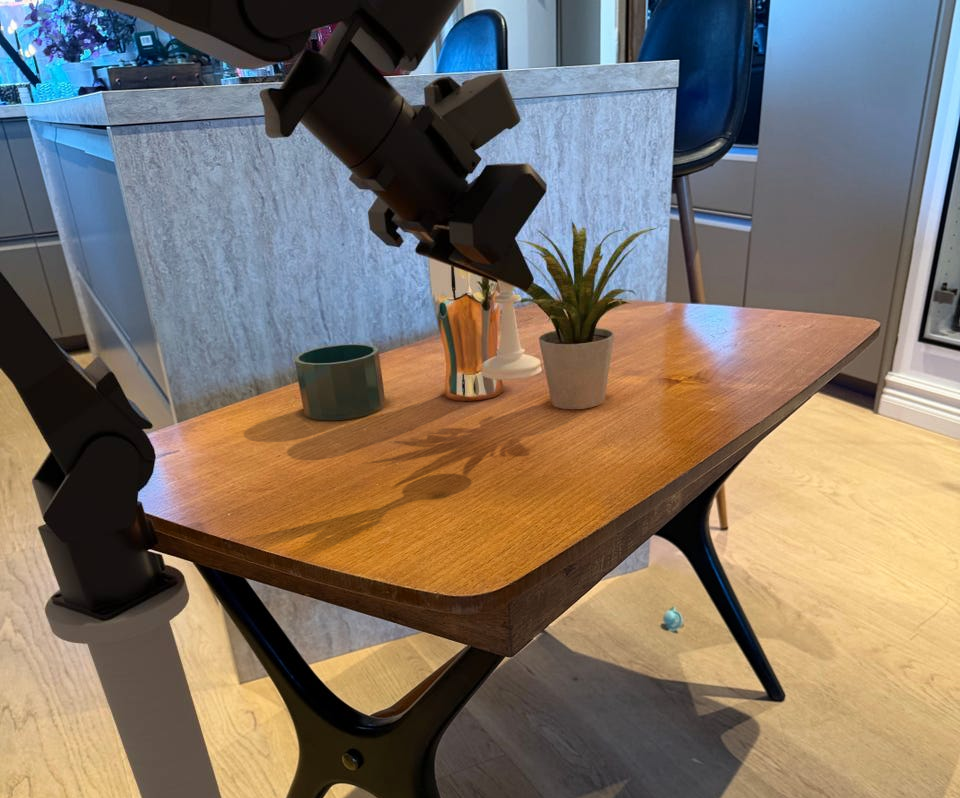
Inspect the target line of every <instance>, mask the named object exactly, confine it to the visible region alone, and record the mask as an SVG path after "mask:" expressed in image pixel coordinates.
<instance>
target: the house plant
mask: <svg viewBox="0 0 960 798" xmlns="http://www.w3.org/2000/svg"><path fill="white" fill-rule="evenodd" d="M534 229H535V230H537V232H538V233H540V235H542V236H543V237H544V238H545V239H546V240H547V241H548V242H549V244H551V246H552V247H553V249H554V250H555V252H556V253H557V255H558V257H559V260H561V263H562V265H563V266H562V265H561V263H560V262H559V260H558V259H557V257H556V256H555V255H554V254H553V253H552V252H551V251H550V250H549V249H547V248H545V247H544V246H541V245H538V244H536V243H535V242H534V243H533V242H530V241H527V240H519V239H517V242H518V241H519V242H521V243H524V244H527V245H530V246H531V247H533V248H535V249H536V250H538V251H539V252H538V251H534V250H530V252H532V253H536V254H539V256H541V258H542V259H543V261H545V266H546V270H547V272H548V273H549V275H550V277H551V279H552V280H553V281H554V283H555V285H556V288H557V289H558V291H559V294H560V296H559V295H558V293H557V292H556V290H555V288H554V286H553V285H552V283H551V282H550V280H549V279H548V278H547V277H546V275H545V274H544V273H543V272H542V270H540V269H539V267H537V266H536V265H535V264H534V263H533V262H532V261H530V260H529V259H528V258H527V257H526V256H524V258H525V260H526V261H528V262H529V263H530V264H531V265H532V266H533V267H534V268H535V269H536V270H537V271H538V273H540V274H541V275H542V276H543V277H544V279H545V280H546V282H547V283H548V284H549V286H550V287H551V289H552V290H553V292H554V294H555V295H556V297H557V300H556V299H555V298H554V297H553V296H552V295H551V294H550V293H549V292H548V291H547V290H546V289H545V288H543V287H542V286H541V285H539V284H536V283H535V282H533V283H532V284H531V286H530V287H529V289H528V290H526V291H525V290H521V289H519V290H520V291H522V292H523V293H525V294H527V295H528V296H530V297H531V298H527V297H524V298H521V301H519V302H515V303H514V305H516V304H517V306H520V304H522V303H523V304H524V303H528V302H530V303H534V304H536V305H537V306H538V308H539V309H540V310H541V311H543V312H544V313H545V314H546V316H547V317H548V320H547V322H549V321H551V323H552V326H553V328H554V330H551V331H549V332H545V333H543V334H541V335H540V336H539V337H538V343H539V347H540V353H541V356H542V357H541V358H542V362H543V367H544V371H545V377H546V383H547V388H548V392H549V393H548V394H549V398H550V402H551V406H553V407H555V408H557V409H561V410H583V409H590V408H593V407H597V406H599V405H602V404H603V403H604V402H605V399H606V394H607V386H608V381H609V373H610V366H611V360H612V353H613V348H614V341H615V340H614V339H615V333H614V332H613V331H612V330H610V329H606V328H600V327H597V325H598V322H599V321H600V320H601V318H602V317H603V316H604V315H605V314H607V313H608V312H609V311H611V310H613V309H615V308H617V307H621V306H622V305H627V304H628V305H632V303H630V302H628V301H626V300H624V299H623V298H615V297H617V296H619V295H621V294H622V293H625V292H630V293H633V295H635V296H636V297H638V295H637V293H636V292H635V291H634V290H633V289H623V288H615V289H611V290H610V291H609V292H607V293H606V294H605V295H604V296H603V297H602V298H601V295H602V294H603V292H604V290H605V288H606V286H607V283H608V282H609V281H610V278H611V277H612V276H613V274H614V273H615V272H616V271H617V270H618V268H619V266H620V265H621V264H622V263H623V261H624V260H625V259H626V257H627V256H628V255H629V254H630V253H631V252H632V251H634V249H635V248H636V247H637V245H638V244H636V245H635V246H633V247H632V248H631V249H630V250H628V251H627V253H625V254H624V255H623V256H622V257H621V258H620V260H618V259H619V257H620V256H621V255H622V253H623V252H624V251H625V250H626V248H627V247H629V245H631V244H632V243H633V241H635V240H636V239H637V238H638V237H639V236H641V235H643V234H645V233H649V232H651V231H654V230H656V229H658V227H654V228H648V229H643V230H640V231H638V232H635V233H633V234H631V235H630V236H628V237H627V238H626V239H625V240H623V242H621V243H620V244H619V245H618V246H617V248H616V249H615V250H614V252H613V253H612V254H611V256H610V257H609V259H608V261H607V263H606V265H605V267H604V268H603V271H602V272H601V275H600V277H599V280H598V282H597V284H595V281H596V276H597V273H598V270H599V264H600V262H601V261H602V260H603V256H604V253H602V246H603V243H604V241H605V240H607V238H608V237H610V236H611V235H613V234H615V233H618V232H621V231H623V230H625V229H618V230H614V231H612V232H610V233H608V234H607V235H606V236H605V237H604V238H603V239H602V240H601V242H600V243H599V244H597V245H596V246H595V248H594V250H593V253H592V257H591V261H590V264H589V266H588V267H587V269H586V270H585V272H584V263H585V254H586V248H587V247H586V246H587V240H588V237H587V229H586V227H585V226H584V227H582V228H581V229H580V230H579V231H578V229H577V227H576V225H575V223H574V222H573V221H571V230H572V247H571V248H572V249H571V253H572V266H573V267H572V268H573V276H572V273H571V270H570V268H569V266H568V263H567V260H566V259H565V257H564V255H563V254H562V252H561V250H560V249H559V248H558V246H557V245H556V244H555V243H554V242H553V241H552V240H551V239H550V238H549V237H548V236H547V235H546V234H544V233H543V232H542V231H540V230H539V229H537V228H536V227H534ZM540 252H541V253H540ZM617 261H618V262H617ZM616 262H617V264H616ZM615 264H616V265H615ZM614 265H615V266H614ZM563 267H564V268H563ZM595 285H596V286H595ZM600 298H601V299H600Z"/></svg>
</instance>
